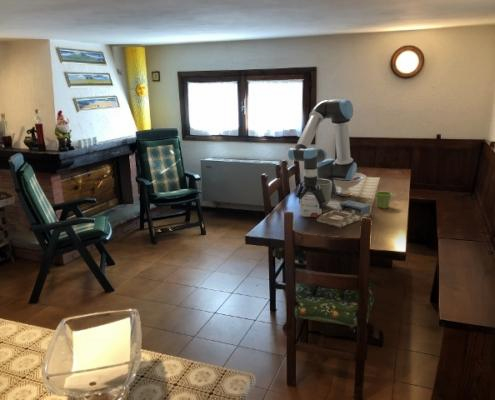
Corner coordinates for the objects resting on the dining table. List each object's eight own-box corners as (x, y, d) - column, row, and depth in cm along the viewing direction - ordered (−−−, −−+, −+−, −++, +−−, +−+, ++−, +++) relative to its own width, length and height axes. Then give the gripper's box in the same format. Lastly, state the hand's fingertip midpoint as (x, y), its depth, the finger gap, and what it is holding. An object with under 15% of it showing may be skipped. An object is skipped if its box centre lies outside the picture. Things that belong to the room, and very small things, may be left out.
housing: (362, 215, 231) (362, 207, 230) (340, 209, 242) (340, 202, 241) (369, 212, 236) (370, 204, 234) (347, 207, 247) (348, 200, 245)
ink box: (318, 214, 241) (318, 195, 237) (317, 217, 236) (317, 197, 233) (304, 213, 243) (303, 194, 240) (302, 216, 239) (302, 196, 236)
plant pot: (372, 205, 253) (373, 191, 251) (387, 204, 254) (388, 190, 251) (378, 209, 244) (379, 195, 242) (393, 208, 245) (394, 194, 243)
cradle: (340, 227, 218) (340, 219, 217) (316, 220, 230) (316, 213, 229) (370, 215, 236) (370, 207, 234) (347, 209, 247) (347, 202, 246)
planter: (314, 201, 267) (314, 177, 263) (337, 205, 255) (337, 180, 251) (298, 207, 256) (297, 182, 251) (320, 212, 244) (321, 186, 239)
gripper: (289, 174, 240) (290, 208, 246) (323, 180, 222) (323, 217, 228) (298, 171, 245) (298, 206, 251) (332, 177, 227) (331, 214, 232)
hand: (310, 211), depth 239 cm, fingers open, 13 cm apart
